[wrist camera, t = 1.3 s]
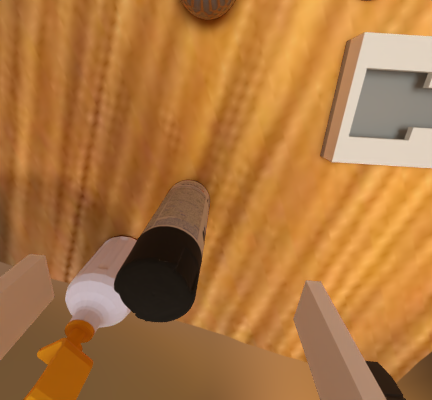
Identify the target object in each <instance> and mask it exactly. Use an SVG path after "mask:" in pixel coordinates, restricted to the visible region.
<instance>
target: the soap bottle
mask: <svg viewBox="0 0 432 400" xmlns="http://www.w3.org/2000/svg"><path fill="white" fill-rule="evenodd" d="M136 241H137V240H135V239H133V238H131V237H125V236H119V237H113V238H111V239H109V240H107V241H106V242H105V243H104V244H103V245H102V246H101V247H100V248H99V250H98V251H97V252H96V253H95V254H94V256H93V257H92V258H91V259H90V260H89V261H88V263H87V264H86V265H85V266H84V267H83V268H82V270H81V271H80V272H79V273H78V274H77V275H76V277H75V278H74V279H73V280H72V282H71V283H70V284H69V286H68V288H67V292H66V299H65V301H66V304H67V307H68V309H69V311H70V313H71V314H72V316H73V318H72V319H71V320H70V322H69V323H68V325H67V326H66V328H65V334H66V335H67V338H62V339H60V340H58V341H56V342H54V343H52V344H49V345H47V346H45V347H43V348H41V349H40V350H39V351H38V353H37V356H38V358H40V359H41V360H42V361H44V362H45V363H46V364H47V365H48V366H47V368H46V369H45V371H44V372H43V374H42V375H41V377H40V378H39V380H38V381H37V383H36V384H35V386H34V387H33V388H32V389H31V391H30V392H29V393H28V394H27V396H26V397H25V398H24V399H23V400H76V398H77V397H78V395H79V393H80V391H81V389H82V386H83V385H84V383H85V380H86V379H87V376H88V374H89V373H90V371H91V368H92V365H93V360H92V359H90V358H89V357H88V356H87V355H86V354H84V353H83V352H82V346H81V343H85V342H88V341H90V340H91V339H92V337H93V335H94V334H95V332H96V330H97V329H98V328H100V327H107V326H113V325H115V324H117V323H119V322H121V321H122V320H123V319H124V318H125V317H126V316H127V315H128V314H129V313H130V311H131V310H130V309H129V308H128V307H127V306H126V305H124V303H123V302H122V300H121V298H120V295H119V294H118V293H117V292H115V290H114V281H115V278H116V275H117V273H118V271H119V270H120V268H121V266H122V265H123V263H124V262H125V260H126V258H127V257H128V255H129V253H130V252H131V250H132V248H133V247H134V245H135V243H136Z"/></svg>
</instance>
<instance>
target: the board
mask: <svg viewBox="0 0 432 400" xmlns="http://www.w3.org/2000/svg"><path fill="white" fill-rule="evenodd" d="M320 156H321V157H323V158H325V159H327V160H329V161H331V162H341V163H357V164H373V165H389V166H405V167H421V168H432V36H416V35H400V34H384V33H368V32H365V33H363V34H361V35H359V36H357V37H355V38H353V39H351V40H349V41H347V44H346V48H345V52H344V56H343V61H342V65H341V69H340V74H339V78H338V82H337V86H336V91H335V95H334V99H333V104H332V108H331V112H330V117H329V121H328V125H327V129H326V134H325V138H324V142H323V147H322V151H321V155H320Z"/></svg>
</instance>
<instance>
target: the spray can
mask: <svg viewBox="0 0 432 400" xmlns="http://www.w3.org/2000/svg"><path fill="white" fill-rule="evenodd" d="M209 206H210V197H209V194H208V191H207V190H206V188H205V187H204V186H203V185H202V184H200V183H198V182H196V181H192V180H184V181H181V182H178V183H176V184H175V185H174V186H173V187H172V188H171V189H170V191H169V192H168V194H167V195H166V197H165V198H164V200H163V201H162V203H161V205H160V206H159V208H158V209H157V211H156V212H155V214H154V215H153V217H152V219H151V220H150V222H149V223H148V225H147V226H146V228H145V230H144V231H143V233H142V234H141V236H140V237H139V238H138V240H137V241H136V243H135V245H134V247H133V248H132V250H131V252H130V253H129V255H128V257H127V258H126V260H125V262H124V263H123V265H122V266H121V268H120V270H119V271H118V273H117V275H116V278H115V281H114V290H115V292H117V293H118V294H119V295H120V298H121V300H122V302H123V303H124V305H126V306H127V307H128V308H129V309H130V310H131V311H132V312H133V313H136V314H135V315H136V316H137V317H138V318H140V319H143V320H145V321H151V322H168V321H172V320H175V319H178V318H180V317H181V316H183V315H184V314H186V313H187V312H188V311H189V309H190V308H191V307H192V305H193V303H194V300H195V296H196V290H197V284H198V278H199V273H200V267H201V263H202V255H203V248H204V241H205V234H206V227H207V220H208V213H209Z"/></svg>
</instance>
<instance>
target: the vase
mask: <svg viewBox="0 0 432 400" xmlns="http://www.w3.org/2000/svg"><path fill="white" fill-rule="evenodd" d="M181 2H182V3H183V5H184V6H185V8H186V9H187V10H188V11H189V12H190V13H192V14H193V15H195V16H196V17H198V18H201V19H205V20H212V19H216V18H219V17H220V16H222V15H224V14H225V13H226V12H227V11H228V10H229V9H230V8H231V6H232V5H233V3H234V2H235V0H181Z"/></svg>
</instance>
